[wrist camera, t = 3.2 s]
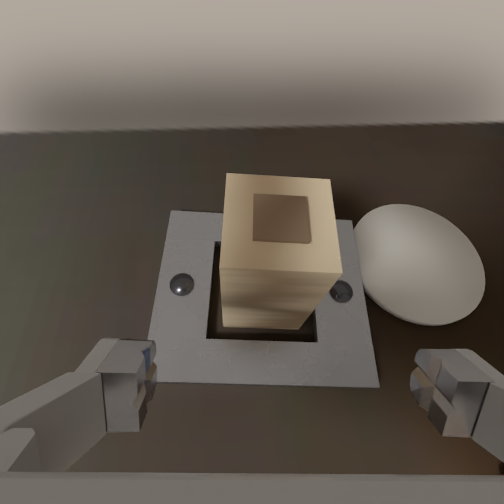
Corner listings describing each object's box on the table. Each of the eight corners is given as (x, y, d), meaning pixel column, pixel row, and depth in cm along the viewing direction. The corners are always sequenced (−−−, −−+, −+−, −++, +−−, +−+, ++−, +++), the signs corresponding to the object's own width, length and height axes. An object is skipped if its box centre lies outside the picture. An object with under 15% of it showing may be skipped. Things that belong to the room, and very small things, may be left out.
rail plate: (348, 226, 24) (352, 219, 24) (374, 388, 19) (380, 387, 18) (172, 216, 24) (170, 209, 23) (143, 382, 18) (139, 380, 17)
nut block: (294, 262, 23) (331, 176, 15) (298, 329, 20) (344, 271, 12) (227, 259, 22) (226, 170, 14) (223, 326, 20) (219, 265, 12)
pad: (442, 203, 26) (447, 199, 26) (505, 315, 22) (512, 313, 21) (332, 213, 25) (335, 209, 24) (374, 335, 20) (377, 333, 20)
